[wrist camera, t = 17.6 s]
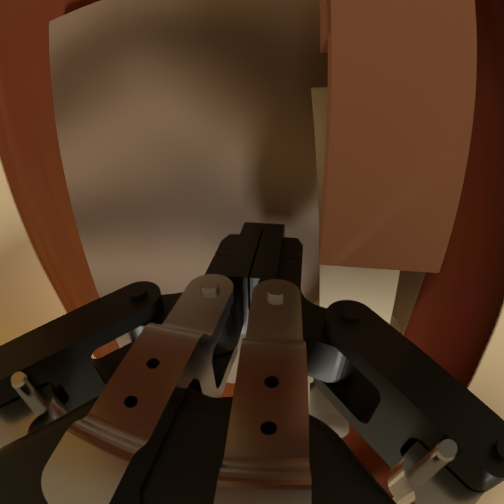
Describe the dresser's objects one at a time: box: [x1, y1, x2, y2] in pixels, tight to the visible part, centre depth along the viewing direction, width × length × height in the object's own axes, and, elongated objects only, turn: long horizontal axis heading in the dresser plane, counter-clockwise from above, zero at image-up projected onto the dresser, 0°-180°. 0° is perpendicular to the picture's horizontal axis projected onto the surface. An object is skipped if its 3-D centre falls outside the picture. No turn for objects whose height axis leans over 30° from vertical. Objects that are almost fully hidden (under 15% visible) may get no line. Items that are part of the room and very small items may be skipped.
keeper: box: [319, 0, 477, 273], centre depth 7 cm, size 7×3×6 cm, turn 1°
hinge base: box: [49, 0, 426, 438], centre depth 12 cm, size 22×18×6 cm
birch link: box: [308, 87, 401, 404], centre depth 12 cm, size 15×6×4 cm, turn 7°
